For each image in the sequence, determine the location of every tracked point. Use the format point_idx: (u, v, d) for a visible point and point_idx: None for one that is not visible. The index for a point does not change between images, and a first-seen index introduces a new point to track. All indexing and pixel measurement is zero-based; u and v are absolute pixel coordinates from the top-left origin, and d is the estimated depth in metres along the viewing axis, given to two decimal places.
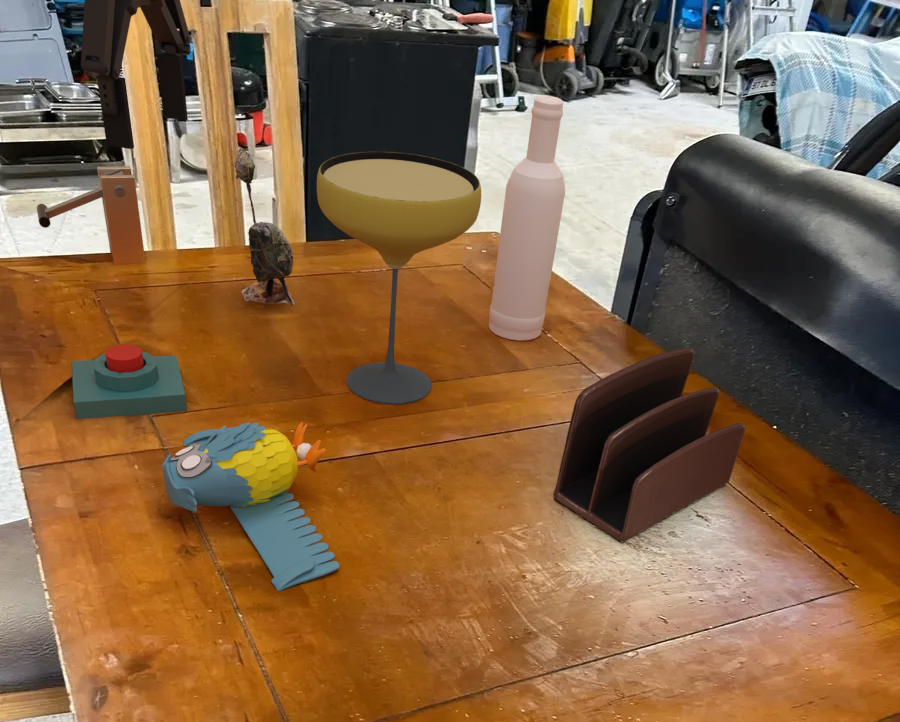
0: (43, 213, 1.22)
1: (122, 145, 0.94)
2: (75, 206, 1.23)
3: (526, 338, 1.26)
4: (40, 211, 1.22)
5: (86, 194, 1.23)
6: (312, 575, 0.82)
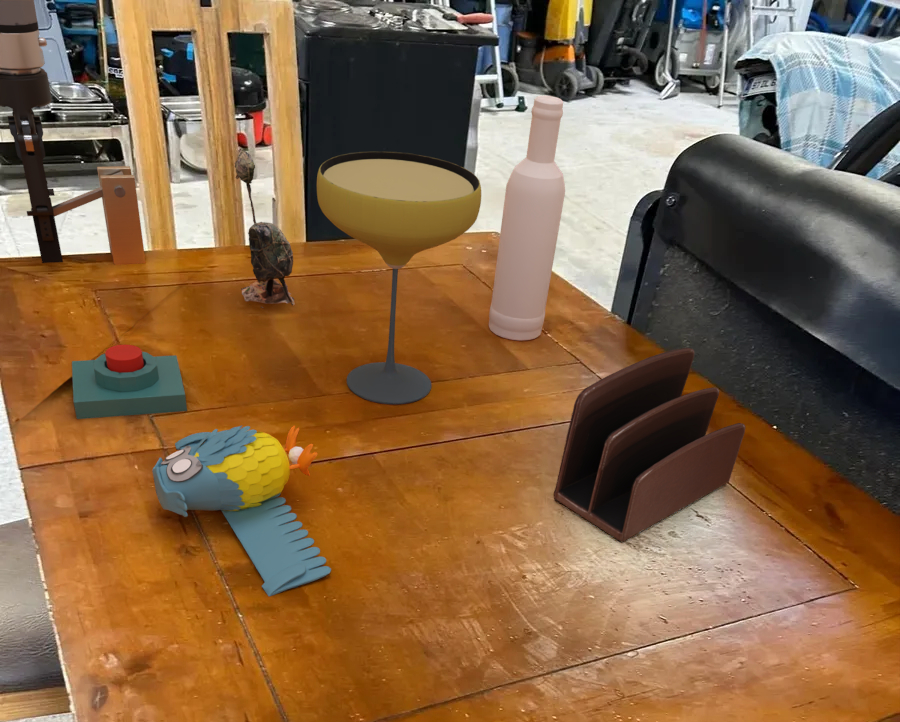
0: None
1: (56, 260, 1.24)
2: (75, 206, 1.23)
3: (526, 338, 1.26)
4: None
5: (86, 194, 1.23)
6: (303, 580, 0.81)
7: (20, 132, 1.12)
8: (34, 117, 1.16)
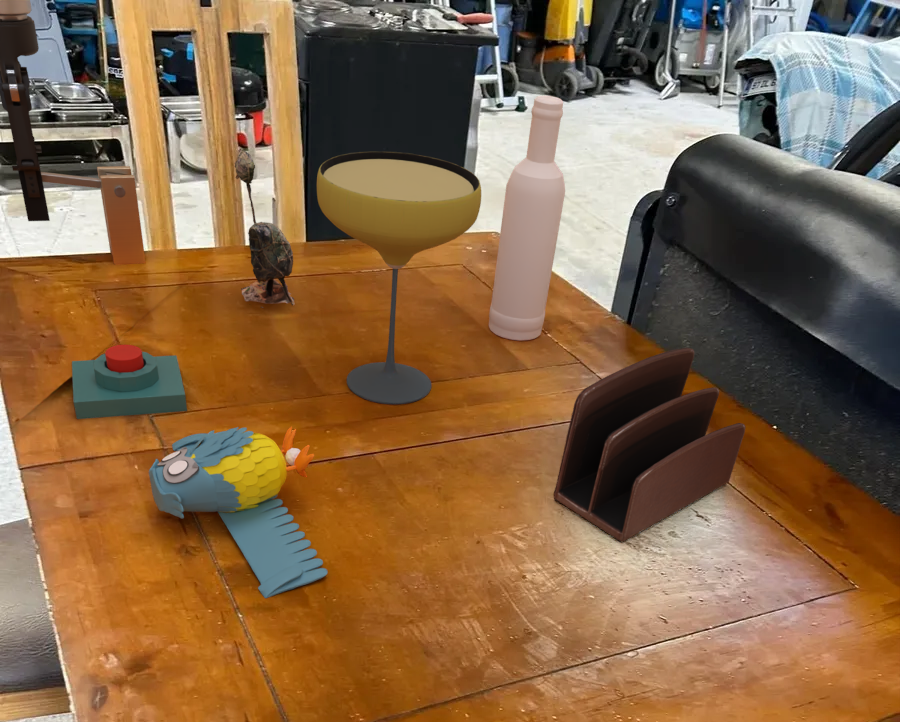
0: None
1: (42, 219, 1.20)
2: (67, 183, 1.21)
3: (526, 338, 1.26)
4: None
5: (83, 178, 1.22)
6: (300, 582, 0.81)
7: (5, 81, 1.09)
8: (20, 68, 1.12)
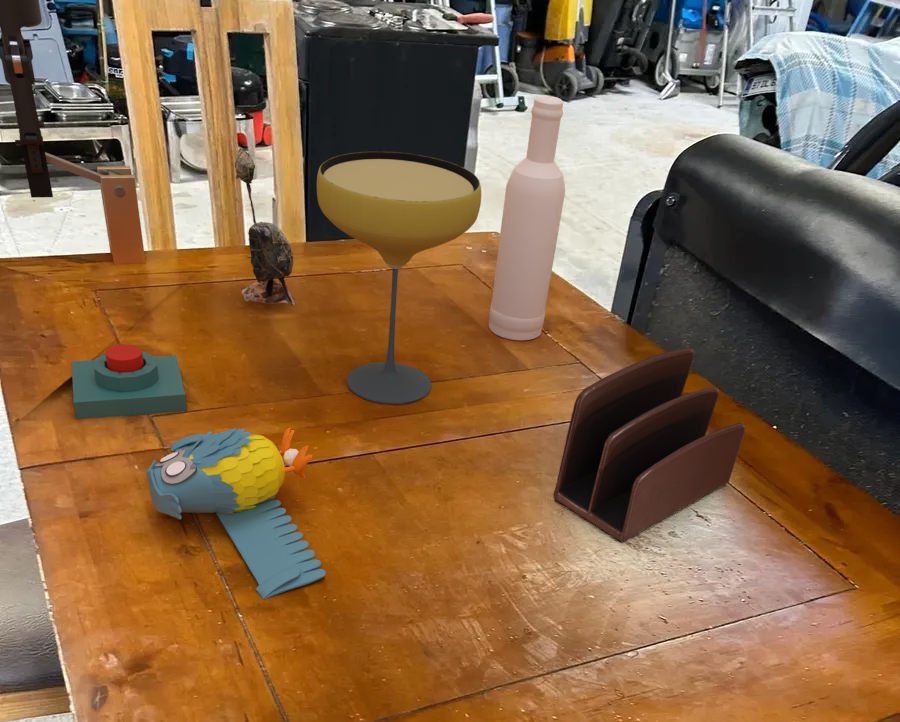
0: None
1: (45, 195, 1.18)
2: (68, 169, 1.20)
3: (526, 338, 1.26)
4: None
5: (85, 169, 1.21)
6: (298, 583, 0.81)
7: (8, 53, 1.07)
8: (23, 40, 1.11)
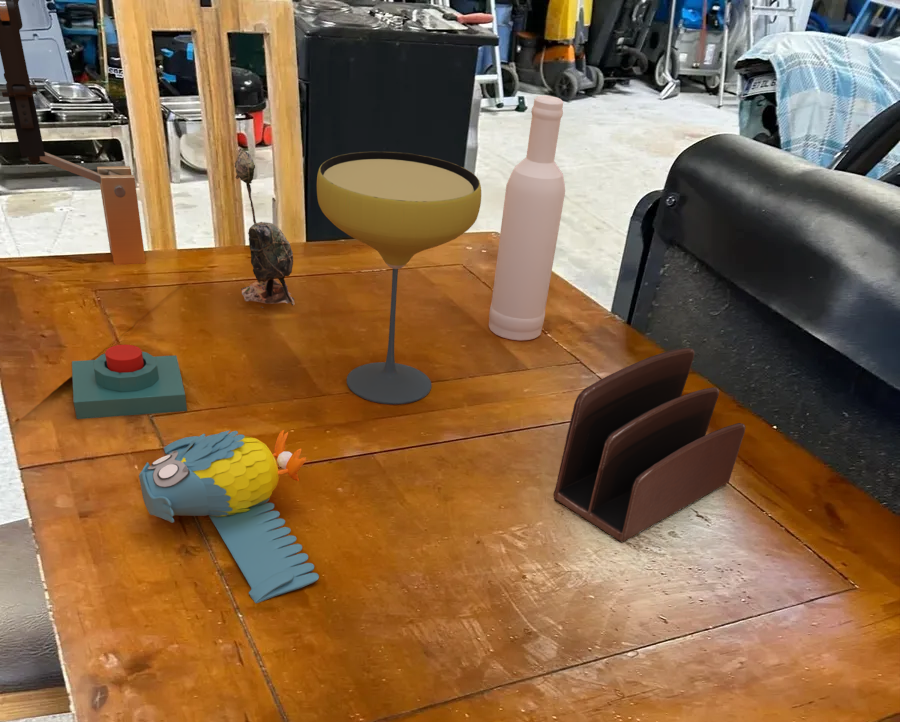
0: None
1: (37, 154, 1.08)
2: (68, 169, 1.20)
3: (526, 338, 1.26)
4: None
5: (85, 169, 1.21)
6: (290, 587, 0.81)
7: None
8: None
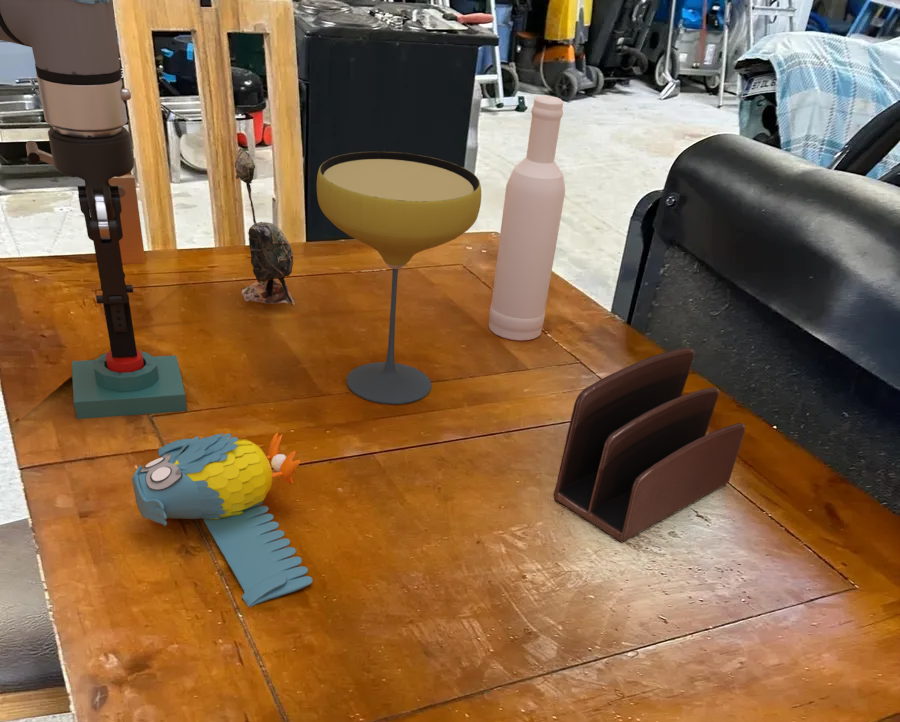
0: (37, 151, 1.17)
1: (129, 354, 1.01)
2: None
3: (526, 338, 1.26)
4: (33, 147, 1.17)
5: None
6: (284, 590, 0.80)
7: (93, 209, 0.87)
8: (111, 187, 0.91)
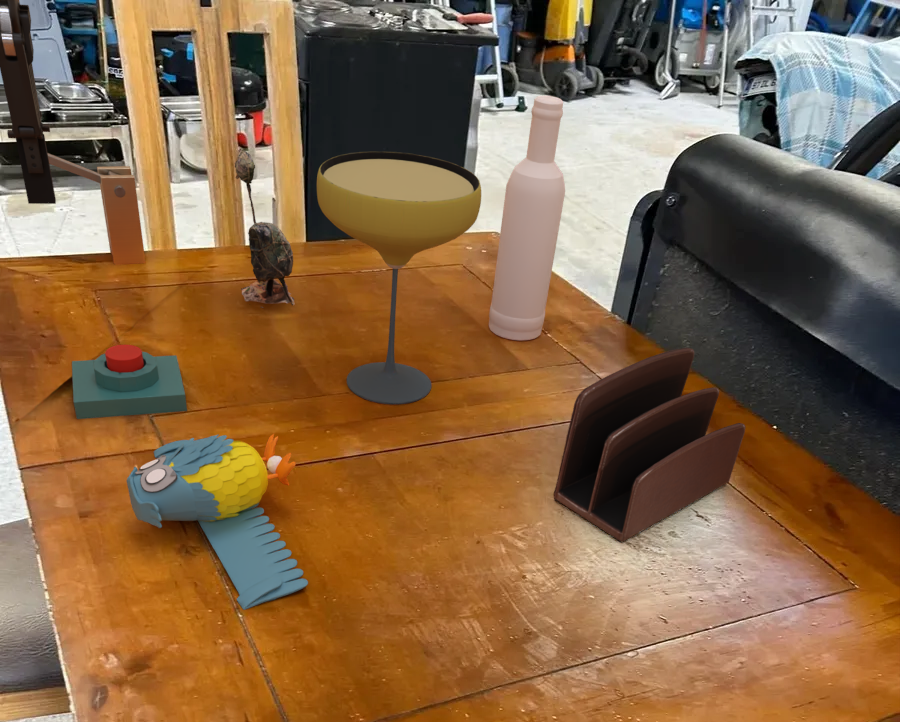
0: None
1: (46, 201, 0.95)
2: (68, 169, 1.20)
3: (526, 338, 1.26)
4: None
5: (85, 169, 1.21)
6: (279, 593, 0.80)
7: None
8: (20, 6, 0.85)
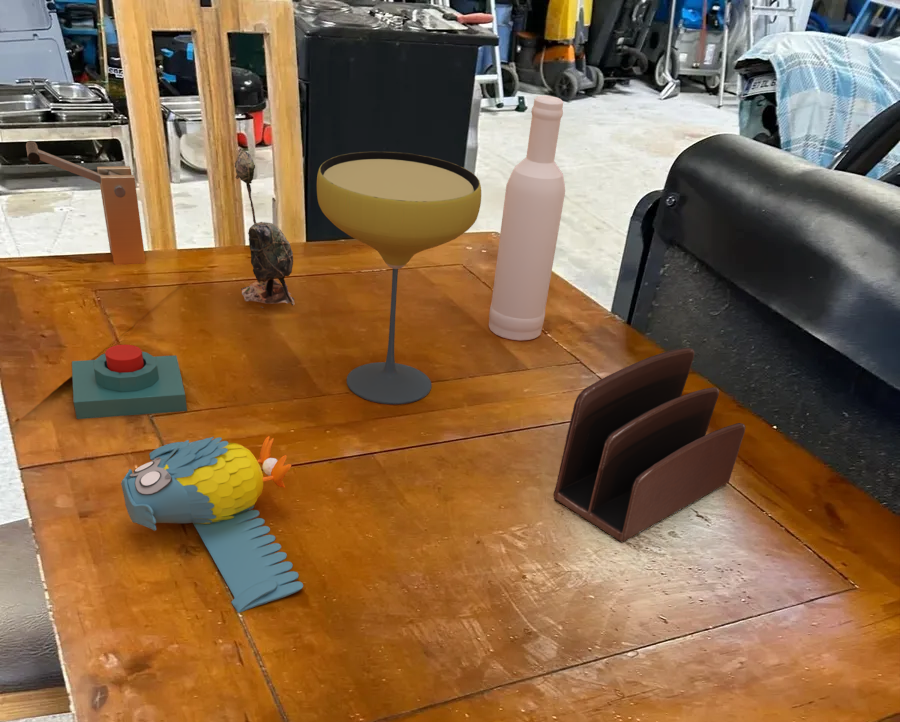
0: (37, 151, 1.17)
1: None
2: (68, 169, 1.20)
3: (526, 338, 1.26)
4: (33, 147, 1.17)
5: (85, 169, 1.21)
6: (274, 596, 0.79)
7: None
8: None
